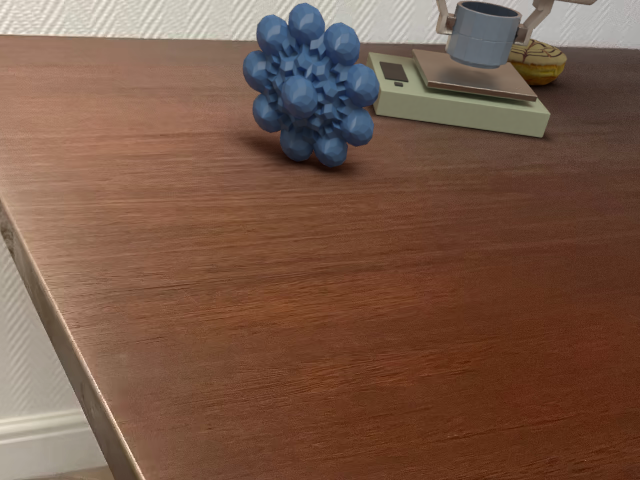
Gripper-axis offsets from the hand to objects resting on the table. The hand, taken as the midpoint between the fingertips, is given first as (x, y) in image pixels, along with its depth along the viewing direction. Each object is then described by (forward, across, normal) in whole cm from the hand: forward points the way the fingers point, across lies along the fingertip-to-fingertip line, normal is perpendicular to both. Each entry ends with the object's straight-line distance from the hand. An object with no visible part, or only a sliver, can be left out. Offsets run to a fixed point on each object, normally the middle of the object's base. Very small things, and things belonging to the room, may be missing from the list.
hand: (480, 38), depth 82 cm
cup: (+2, 0, 0) cm, 2 cm away
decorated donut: (+7, -10, -16) cm, 20 cm away
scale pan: (+4, 0, 0) cm, 4 cm away
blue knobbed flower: (+7, +18, +23) cm, 30 cm away
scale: (+7, +2, 0) cm, 7 cm away
